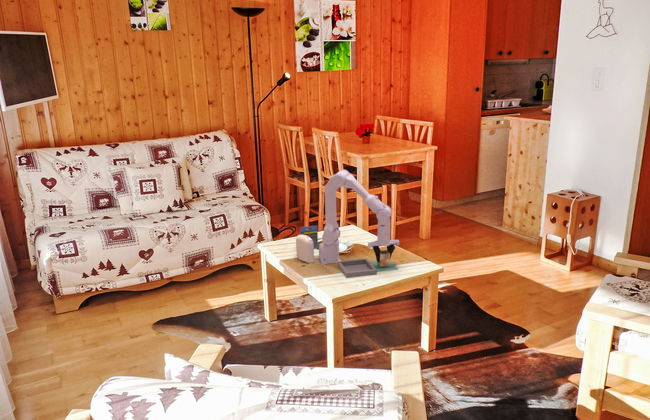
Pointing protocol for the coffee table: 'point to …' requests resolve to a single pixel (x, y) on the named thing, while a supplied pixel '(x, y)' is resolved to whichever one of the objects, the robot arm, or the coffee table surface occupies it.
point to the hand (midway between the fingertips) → (383, 260)
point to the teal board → (384, 267)
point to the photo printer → (305, 248)
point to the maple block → (384, 258)
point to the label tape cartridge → (310, 234)
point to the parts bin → (357, 268)
